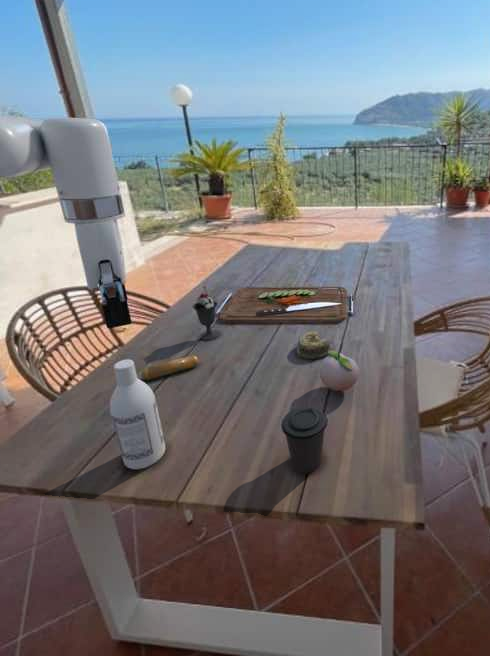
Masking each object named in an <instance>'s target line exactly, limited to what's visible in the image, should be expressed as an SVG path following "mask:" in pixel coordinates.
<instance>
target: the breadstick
mask: <svg viewBox="0 0 490 656" xmlns="http://www.w3.org/2000/svg"><path fill="white" fill-rule="evenodd" d="M199 361H200V359H199V357H198V356H197V355H189V356H185V357H181V358H177V359H174V360H170V361H166V362H163V363H159V364H155V365H151V366H148V367H145V368H144V369H143V370H142V371H141V374H140V375H141V378H142V380H143V379H144V380H145V381H150V380H154V379H157V378H161V377H164V376H168V375H171V374H175V373H178V372H182V371H185V370H189V369H193V368H196V367H197V366H198V365H199V363H200V362H199Z"/></svg>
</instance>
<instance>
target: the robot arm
mask: <svg viewBox="0 0 490 656" xmlns="http://www.w3.org/2000/svg"><path fill="white" fill-rule="evenodd" d="M108 132H109V131H108V129H107V127H106V125H105V124H104V123H103V122H102V121H101V120H98V119H96V118H91V117H50V118H46V119H41V118H33V117H32V118H31V117H25V116H17V115H5V114H0V180H6V179H10V178H14V177H19V176H24V175H29V174H34V173H37V172H43V171H49V170H50V171H51V174H52V177H53V182H54V186H55V190H56V193H57V197H58V200H59V205H60V208H61V212H62V216H63V218H64V220H63V221H64V222H65V223H68V224H74V230H75V237H76V241H77V247H78V250H79V255H80V259H81V263H82V267H83V271H84V276H85V280H86V285H87V286H86V287H87V289H88V290H90V291H94V290H95V289H97V288H99V292H100V298H101V304H100V305H101V309H102V312H103V313H102V314H103V317H104V321H105V325H106V329H114V328H119V327H124V326H129V325H131V324H132V317H131V314H130V313H131V312H130V309H129V304H128V294H127V289H126V282H127V279H126V264H125V256H124V249H123V244H122V239H121V233H120V229H119V223H118V220H119V219H122V218H124V217H126V211H125V208H124V203H123V198H122V194H121V189H120V184H119V179H118V174H117V169H116V165H115V159H114V155H113V150H112V145H111V140H110V136H109V133H108Z"/></svg>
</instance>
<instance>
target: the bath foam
mask: <svg viewBox="0 0 490 656" xmlns="http://www.w3.org/2000/svg"><path fill="white" fill-rule="evenodd" d="M113 371H114V375H115V378H116V382H117V385H116V387H115V389H114V390H113V392H112V395H111V398H110V402H109V413H110V416H111V417H110V418H111V421H112V424H113V429H114V432H115V436H116V439H117V443H118V447H119V451H120V454H121V458H122V461H123V464H124V466H125V467H126V468H128V469H130V470H142V469H146V468H149V467H151V466H152V465H154V464H157V462H158V461H159V460H160V459H161V458H162V457H163V456H164V454H165V452H166V443H165V442H166V441H165V437H164V432H163V427H162V423H161V418H160V414H159V409H158V403H157V400H156V396H155V393H154V391H153V390H152V388H151V387H150V386H149V385H148V384H147V383H145V382H144V381H142V380H141V379H140V378H138V376H137V371H136V366H135V362H134V361H133V360H132V359H129V358H127V359H122V360H119V361H117V362H116V363H115V364H114V365H113Z"/></svg>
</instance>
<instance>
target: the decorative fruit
mask: <svg viewBox="0 0 490 656" xmlns="http://www.w3.org/2000/svg"><path fill="white" fill-rule="evenodd" d="M327 353H328V354H327V355H326V356H325V358H323V360H322V361H321V363H320V365H319V368H318V369H319V370H318V372H319V373H318V374H319V378H320V380H321V382H322V383H323V385H324V386H325V387H326V388H327V389H330V390H333V391H336V392H345V391H348V390H350V389H351V388H352V387H353V386H354V385H355V384H357V383H356V382H357V381H358V379H359V377H360V368H359V366H358V363H357V362H356V361H355V360H354V359H353V358H351V357H349V356H345V355H344V354H343V353H341V352H339V351H337V350H332V351H328V352H327Z"/></svg>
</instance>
